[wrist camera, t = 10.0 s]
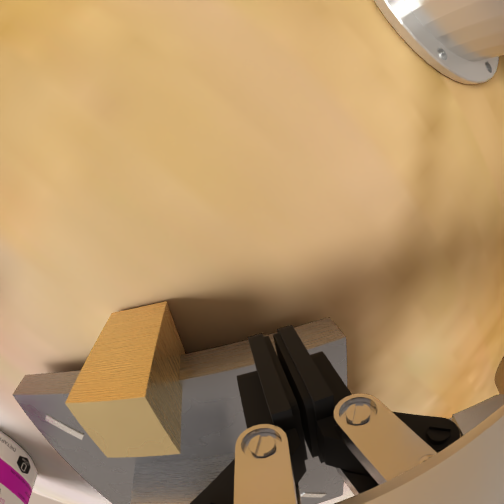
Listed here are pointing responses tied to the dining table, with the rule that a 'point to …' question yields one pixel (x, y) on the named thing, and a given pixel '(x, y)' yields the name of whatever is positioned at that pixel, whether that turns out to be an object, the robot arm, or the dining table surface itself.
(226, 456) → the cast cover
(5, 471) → the supplement can
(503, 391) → the plant pot
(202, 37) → the dining table surface
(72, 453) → the grey mounting base
